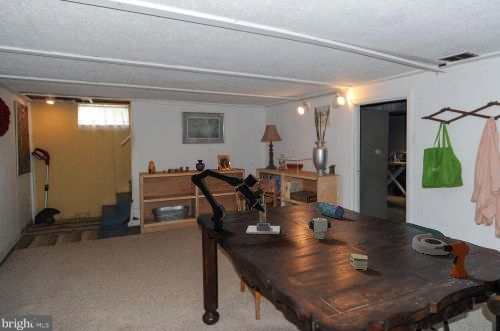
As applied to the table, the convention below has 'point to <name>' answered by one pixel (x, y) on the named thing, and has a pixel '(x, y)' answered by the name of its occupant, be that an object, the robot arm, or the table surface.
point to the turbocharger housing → (428, 244)
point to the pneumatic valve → (319, 227)
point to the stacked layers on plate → (359, 261)
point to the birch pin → (263, 214)
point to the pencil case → (331, 210)
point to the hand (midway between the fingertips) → (264, 210)
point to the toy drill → (457, 257)
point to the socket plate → (263, 229)
